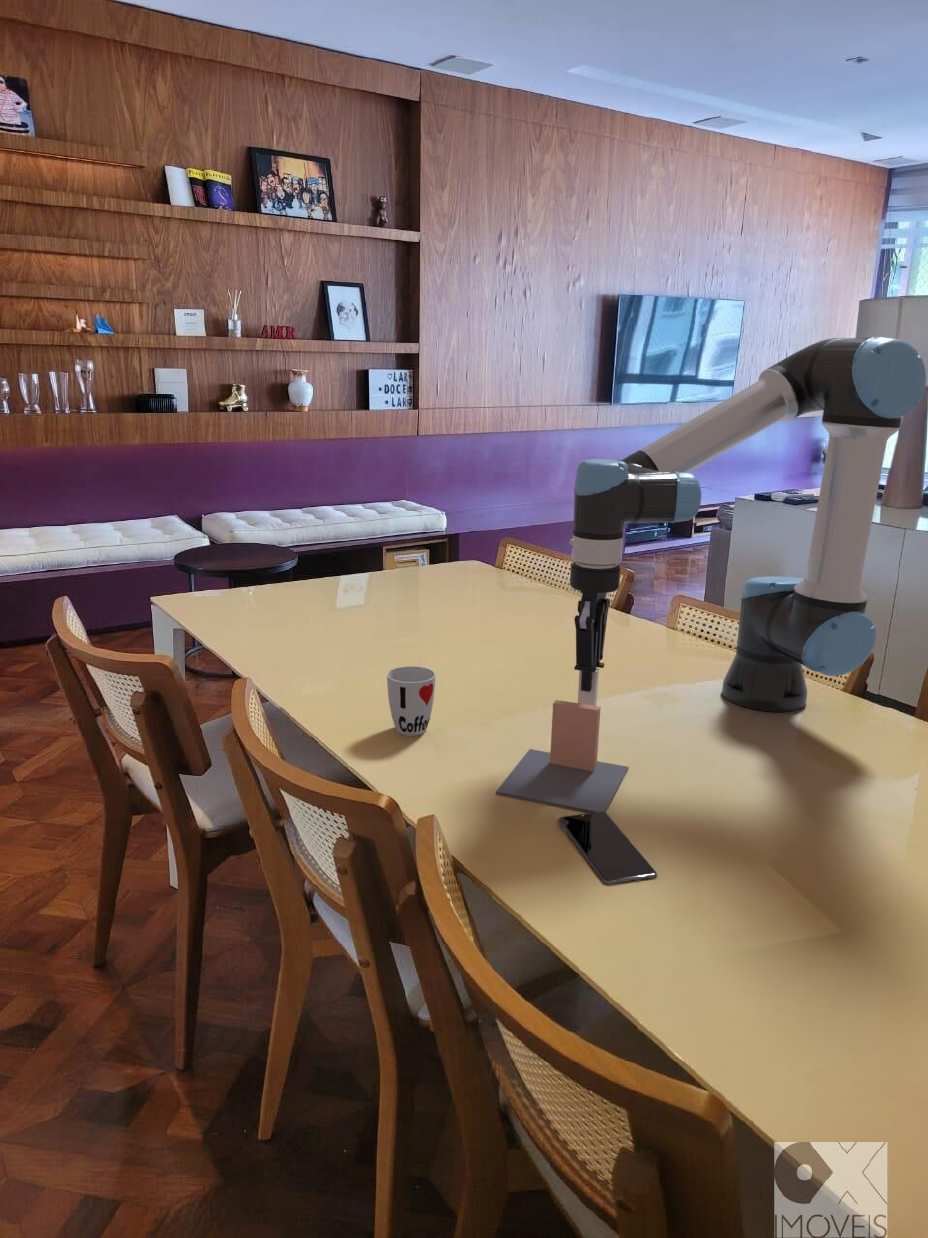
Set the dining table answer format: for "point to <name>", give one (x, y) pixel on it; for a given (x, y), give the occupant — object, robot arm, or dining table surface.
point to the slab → (575, 735)
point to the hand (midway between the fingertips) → (586, 707)
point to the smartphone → (606, 848)
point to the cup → (411, 698)
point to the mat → (563, 783)
